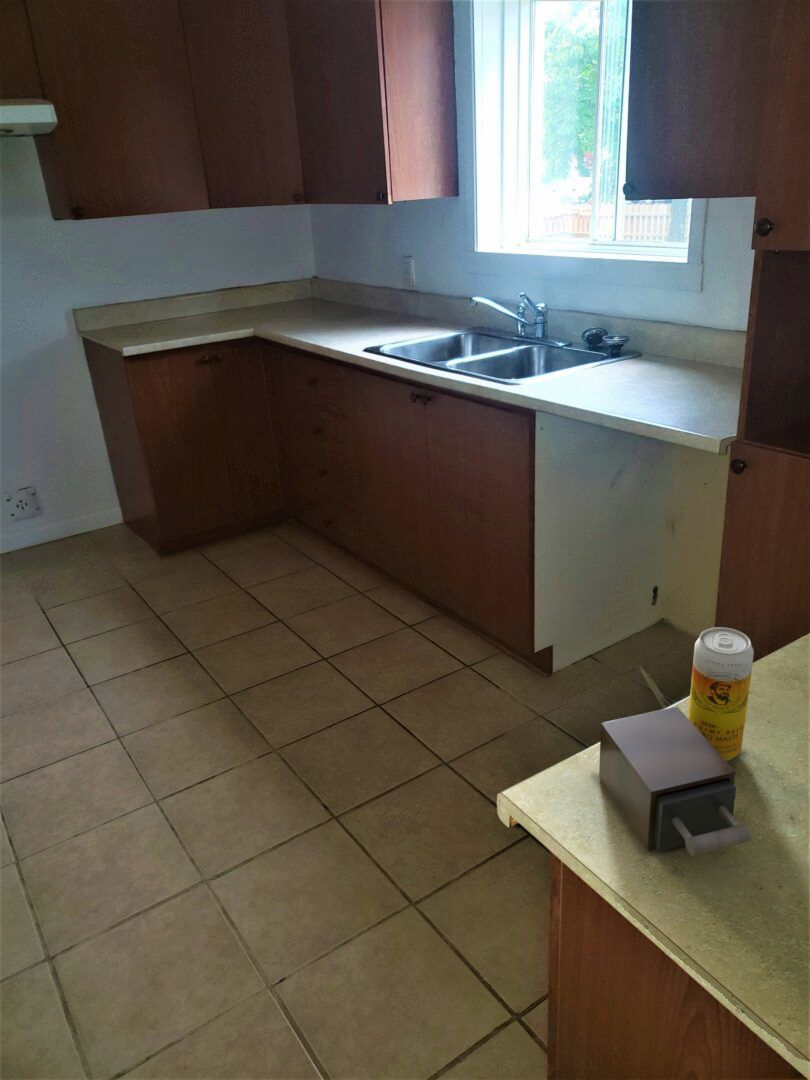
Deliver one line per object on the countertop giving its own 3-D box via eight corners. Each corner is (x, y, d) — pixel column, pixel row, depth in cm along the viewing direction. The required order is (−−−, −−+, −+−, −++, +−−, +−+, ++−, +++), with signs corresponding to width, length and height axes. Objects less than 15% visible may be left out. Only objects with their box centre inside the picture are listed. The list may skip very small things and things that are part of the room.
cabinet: (728, 829, 84) (735, 771, 81) (647, 850, 83) (651, 792, 80) (672, 760, 94) (677, 706, 91) (598, 777, 93) (600, 722, 89)
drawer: (756, 865, 79) (763, 818, 77) (681, 885, 78) (685, 837, 75) (677, 767, 92) (681, 724, 89) (612, 782, 91) (614, 739, 88)
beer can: (687, 762, 94) (697, 653, 87) (684, 729, 99) (693, 623, 93) (743, 768, 92) (758, 657, 86) (737, 733, 98) (750, 627, 91)
